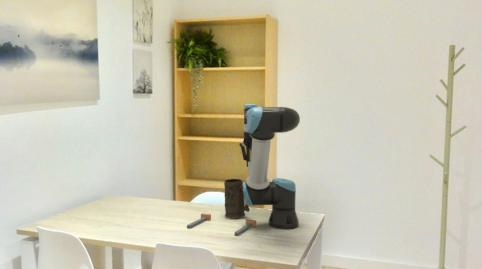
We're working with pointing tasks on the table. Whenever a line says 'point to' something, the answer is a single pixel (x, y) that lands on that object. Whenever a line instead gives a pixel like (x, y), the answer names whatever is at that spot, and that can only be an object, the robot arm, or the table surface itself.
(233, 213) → the beer stein
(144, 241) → the table surface
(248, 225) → the grey and brown bars
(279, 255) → the table surface
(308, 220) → the table surface
